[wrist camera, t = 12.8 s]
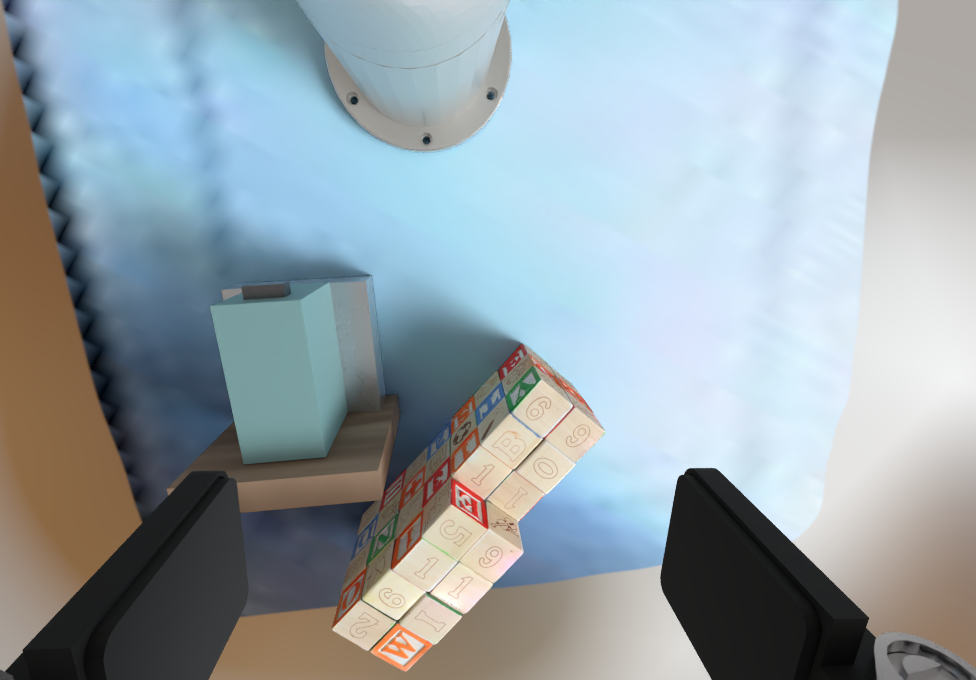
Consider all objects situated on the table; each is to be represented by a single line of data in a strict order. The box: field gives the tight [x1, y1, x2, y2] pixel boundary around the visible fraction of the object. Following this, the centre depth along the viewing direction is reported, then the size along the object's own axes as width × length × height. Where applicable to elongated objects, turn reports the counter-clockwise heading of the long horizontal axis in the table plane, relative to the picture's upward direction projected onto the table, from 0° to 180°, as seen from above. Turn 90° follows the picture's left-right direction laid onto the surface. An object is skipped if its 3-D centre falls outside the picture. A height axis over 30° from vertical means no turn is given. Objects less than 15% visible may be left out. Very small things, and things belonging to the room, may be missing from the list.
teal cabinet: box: [210, 281, 348, 464], centre depth 32 cm, size 11×5×7 cm, turn 2°
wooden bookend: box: [167, 276, 400, 513], centre depth 32 cm, size 12×12×12 cm
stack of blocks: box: [332, 344, 605, 671], centre depth 36 cm, size 21×6×12 cm, turn 138°
